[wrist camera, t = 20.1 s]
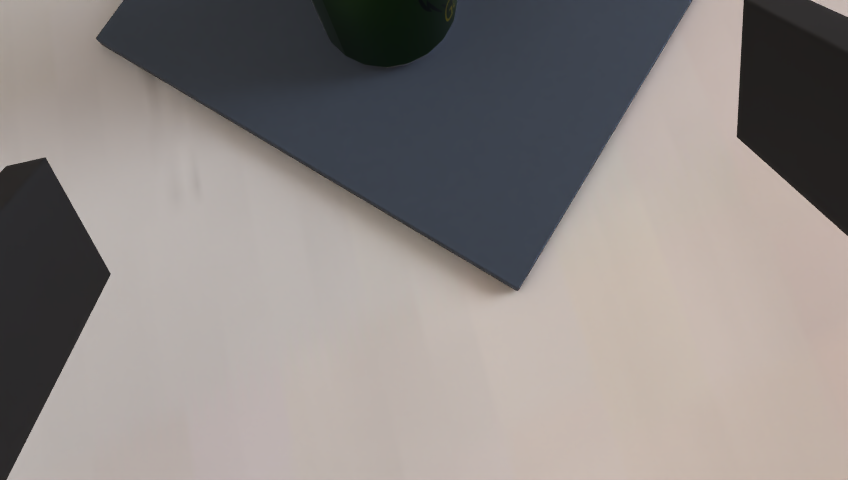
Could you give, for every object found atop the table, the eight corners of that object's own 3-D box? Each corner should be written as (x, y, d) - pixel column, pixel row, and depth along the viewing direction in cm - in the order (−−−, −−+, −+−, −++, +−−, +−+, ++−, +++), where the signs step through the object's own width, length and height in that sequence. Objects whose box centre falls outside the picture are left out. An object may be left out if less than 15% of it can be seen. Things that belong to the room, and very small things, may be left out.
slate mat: (102, 45, 29) (95, 38, 29) (287, -209, 31) (283, -220, 30) (517, 291, 26) (518, 289, 25) (698, -10, 27) (703, -19, 27)
